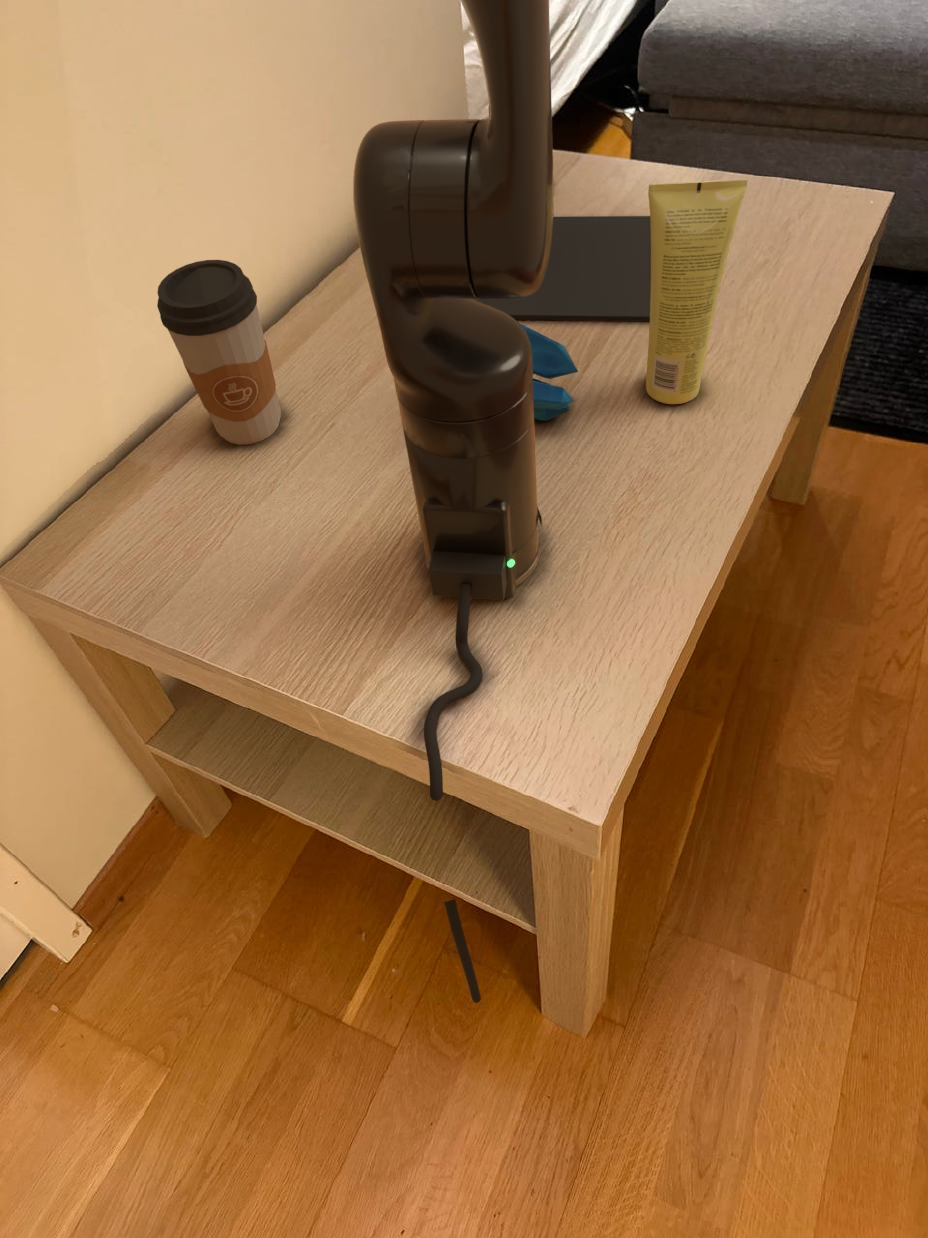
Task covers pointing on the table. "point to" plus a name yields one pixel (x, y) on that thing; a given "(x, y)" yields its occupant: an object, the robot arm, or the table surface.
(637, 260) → the mat
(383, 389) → the table surface
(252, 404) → the coffee cup
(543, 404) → the crystal
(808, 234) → the table surface
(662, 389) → the tube
